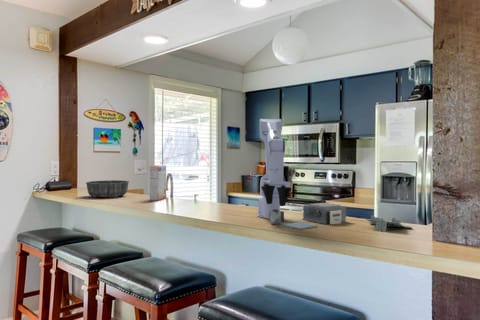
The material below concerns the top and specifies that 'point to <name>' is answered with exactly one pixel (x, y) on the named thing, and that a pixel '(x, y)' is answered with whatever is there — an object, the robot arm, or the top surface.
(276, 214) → the cylinder
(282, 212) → the rubber block
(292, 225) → the pad
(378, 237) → the top surface
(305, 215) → the box
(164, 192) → the cracker box
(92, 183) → the bundt pan
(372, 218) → the metal bracket
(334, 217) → the label tile
